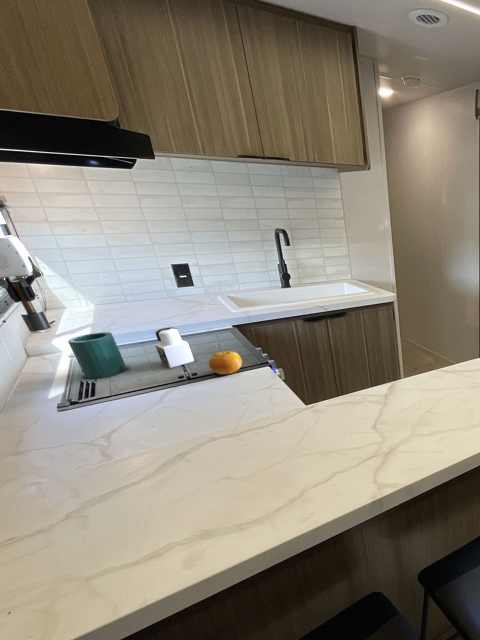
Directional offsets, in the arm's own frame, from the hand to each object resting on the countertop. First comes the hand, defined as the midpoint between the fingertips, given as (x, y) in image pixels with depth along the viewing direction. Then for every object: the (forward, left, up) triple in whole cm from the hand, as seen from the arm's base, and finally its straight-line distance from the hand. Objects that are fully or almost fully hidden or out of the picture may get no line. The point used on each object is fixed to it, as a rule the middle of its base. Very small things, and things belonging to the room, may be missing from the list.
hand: (25, 300), depth 114 cm
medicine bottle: (+24, +15, -26) cm, 38 cm away
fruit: (+47, +7, -26) cm, 54 cm away
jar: (+6, +7, -25) cm, 27 cm away
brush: (0, 0, -9) cm, 9 cm away
